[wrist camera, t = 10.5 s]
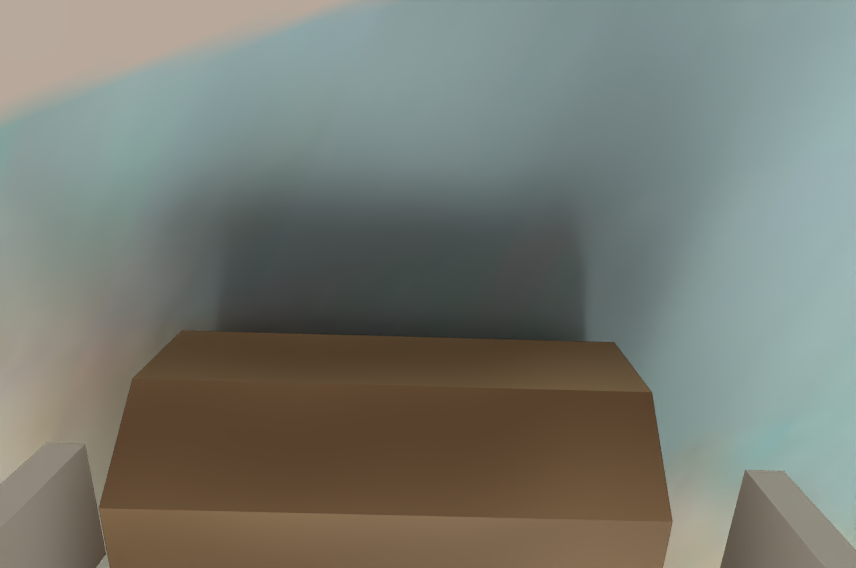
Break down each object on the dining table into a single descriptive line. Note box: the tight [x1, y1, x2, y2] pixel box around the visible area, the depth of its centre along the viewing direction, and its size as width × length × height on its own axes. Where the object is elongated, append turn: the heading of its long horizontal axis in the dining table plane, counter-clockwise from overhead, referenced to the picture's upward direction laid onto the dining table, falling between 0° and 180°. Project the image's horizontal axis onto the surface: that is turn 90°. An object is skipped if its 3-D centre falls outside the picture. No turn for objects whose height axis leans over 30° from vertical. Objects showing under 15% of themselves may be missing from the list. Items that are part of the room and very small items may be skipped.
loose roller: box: [99, 331, 672, 568], centre depth 13 cm, size 6×10×6 cm, turn 88°
